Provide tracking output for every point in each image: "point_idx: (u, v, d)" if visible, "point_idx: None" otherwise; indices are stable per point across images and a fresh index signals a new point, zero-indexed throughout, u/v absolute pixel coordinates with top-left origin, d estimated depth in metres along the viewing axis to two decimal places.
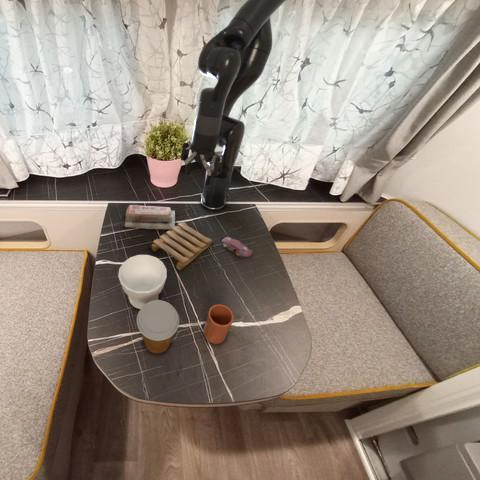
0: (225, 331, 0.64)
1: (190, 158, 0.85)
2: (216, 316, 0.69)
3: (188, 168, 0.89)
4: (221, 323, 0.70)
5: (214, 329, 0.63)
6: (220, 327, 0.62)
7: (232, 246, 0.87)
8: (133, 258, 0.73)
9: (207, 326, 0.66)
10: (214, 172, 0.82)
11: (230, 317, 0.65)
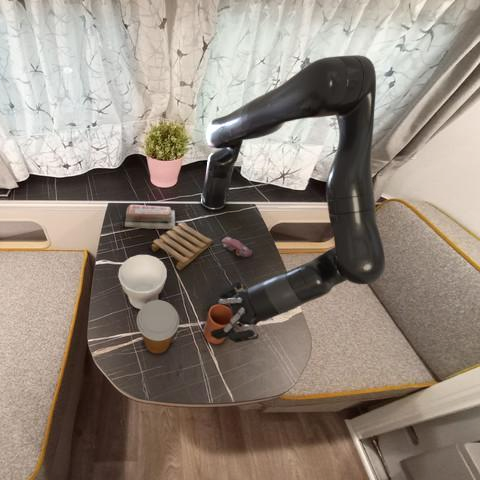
0: None
1: None
2: (216, 316, 0.69)
3: None
4: (221, 323, 0.70)
5: (214, 329, 0.63)
6: (220, 327, 0.62)
7: (232, 246, 0.87)
8: (133, 258, 0.73)
9: (207, 326, 0.66)
10: None
11: (230, 317, 0.65)
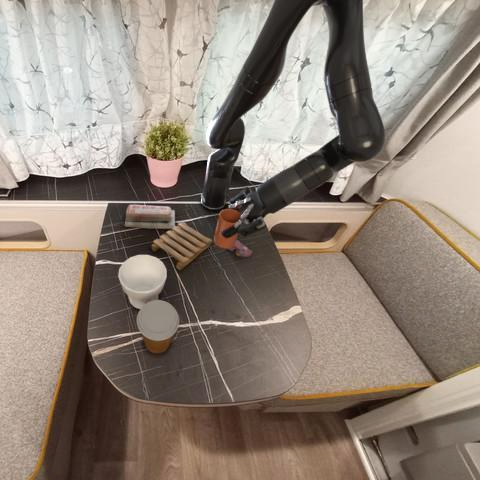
0: None
1: None
2: None
3: None
4: None
5: (225, 229, 0.68)
6: (230, 225, 0.67)
7: None
8: (133, 258, 0.73)
9: (218, 229, 0.70)
10: None
11: (239, 219, 0.69)
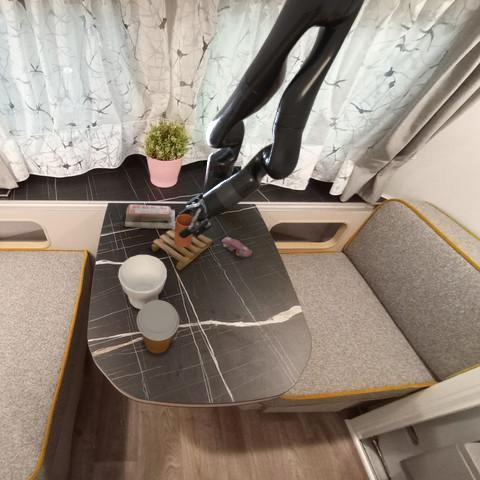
0: None
1: None
2: None
3: None
4: None
5: (180, 230, 0.82)
6: (184, 227, 0.81)
7: (232, 246, 0.87)
8: (133, 258, 0.73)
9: (175, 231, 0.85)
10: None
11: None
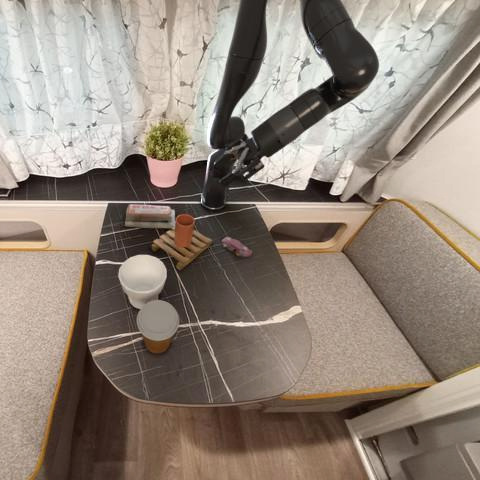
0: (188, 232, 0.83)
1: None
2: None
3: None
4: None
5: (180, 230, 0.82)
6: (184, 227, 0.81)
7: (232, 246, 0.87)
8: (133, 258, 0.73)
9: (175, 231, 0.85)
10: None
11: (193, 223, 0.84)
